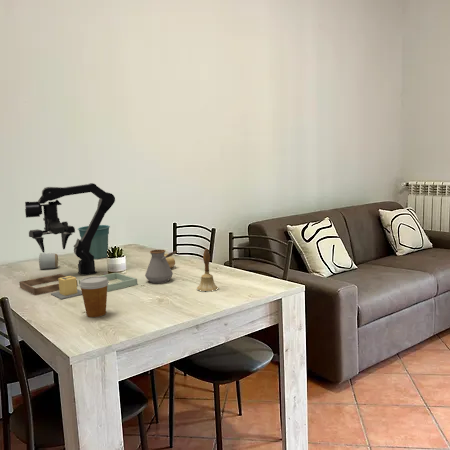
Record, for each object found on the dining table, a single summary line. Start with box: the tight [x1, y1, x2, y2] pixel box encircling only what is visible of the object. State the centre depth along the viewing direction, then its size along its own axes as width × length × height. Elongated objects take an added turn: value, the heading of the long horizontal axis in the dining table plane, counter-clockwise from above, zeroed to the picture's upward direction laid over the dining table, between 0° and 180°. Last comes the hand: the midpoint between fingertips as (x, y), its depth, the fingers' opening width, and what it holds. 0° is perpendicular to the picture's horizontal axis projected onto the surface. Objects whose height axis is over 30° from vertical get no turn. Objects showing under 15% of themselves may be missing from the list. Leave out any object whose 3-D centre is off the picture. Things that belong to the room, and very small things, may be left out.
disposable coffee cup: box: [78, 275, 110, 318], centre depth 163 cm, size 10×10×12 cm
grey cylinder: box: [38, 252, 59, 270], centre depth 238 cm, size 11×8×8 cm
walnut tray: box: [19, 273, 79, 296], centre depth 202 cm, size 18×17×2 cm
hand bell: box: [196, 248, 219, 292], centre depth 190 cm, size 8×8×16 cm
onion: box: [164, 253, 176, 269], centre depth 228 cm, size 8×8×7 cm
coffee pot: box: [144, 249, 180, 284], centre depth 201 cm, size 21×12×15 cm, turn 37°
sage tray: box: [78, 272, 138, 293], centre depth 201 cm, size 18×17×2 cm
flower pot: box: [77, 224, 111, 260], centre depth 259 cm, size 16×16×16 cm
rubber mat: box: [50, 288, 83, 300], centre depth 190 cm, size 10×10×1 cm
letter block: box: [58, 275, 78, 296], centre depth 190 cm, size 5×5×6 cm
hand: (53, 250), depth 217 cm, fingers open, 9 cm apart
